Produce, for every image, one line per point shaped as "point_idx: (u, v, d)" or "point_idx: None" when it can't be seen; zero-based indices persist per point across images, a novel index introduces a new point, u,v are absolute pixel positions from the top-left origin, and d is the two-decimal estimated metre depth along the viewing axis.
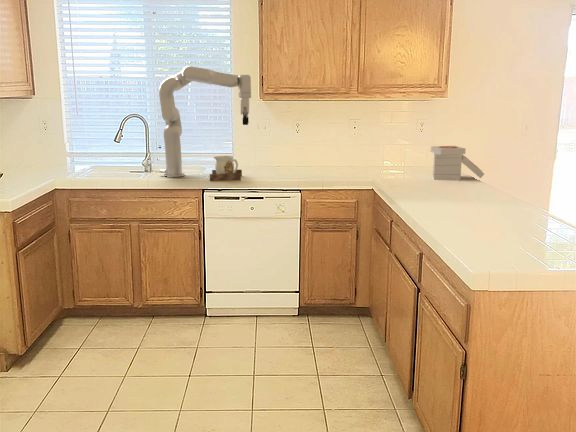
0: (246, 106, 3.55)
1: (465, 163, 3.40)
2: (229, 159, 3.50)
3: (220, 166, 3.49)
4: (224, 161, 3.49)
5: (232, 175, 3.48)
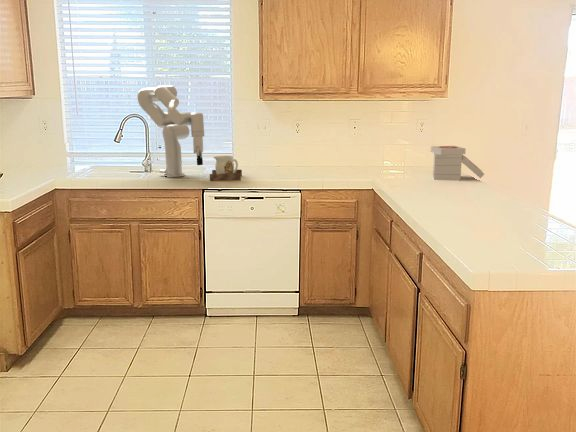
0: (199, 145, 3.47)
1: (465, 163, 3.40)
2: (229, 159, 3.50)
3: (220, 166, 3.49)
4: (224, 161, 3.49)
5: (232, 175, 3.48)
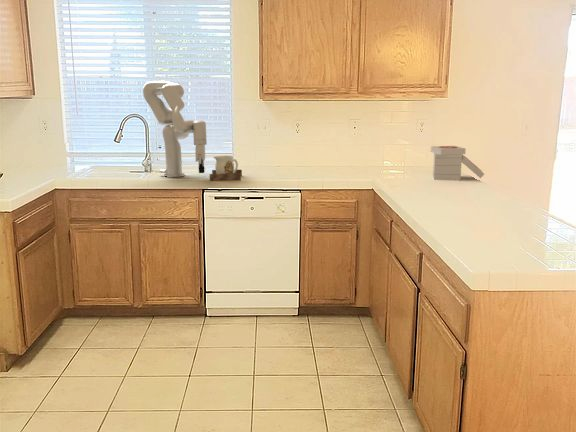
0: (201, 153, 3.48)
1: (465, 163, 3.40)
2: (229, 159, 3.50)
3: (220, 166, 3.49)
4: (224, 161, 3.49)
5: (232, 175, 3.48)
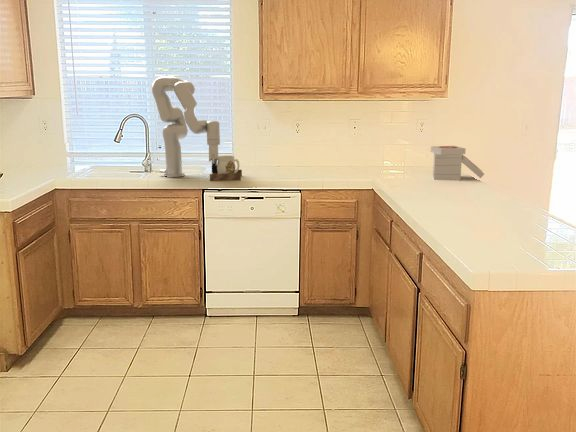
0: (214, 153, 3.48)
1: (465, 163, 3.40)
2: (231, 159, 3.50)
3: (222, 166, 3.49)
4: (226, 161, 3.49)
5: (232, 175, 3.48)
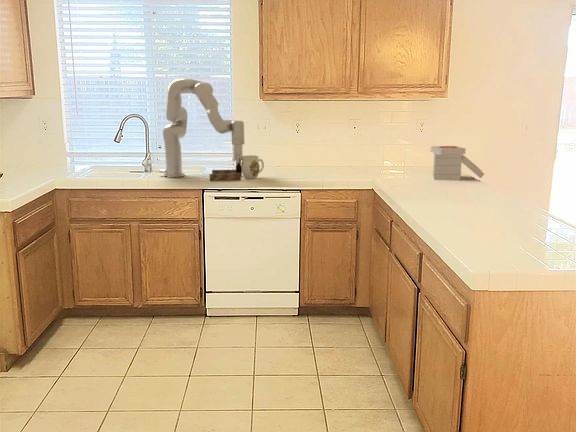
0: (239, 153, 3.49)
1: (465, 163, 3.40)
2: (255, 159, 3.50)
3: (246, 166, 3.50)
4: (250, 161, 3.49)
5: (232, 175, 3.48)
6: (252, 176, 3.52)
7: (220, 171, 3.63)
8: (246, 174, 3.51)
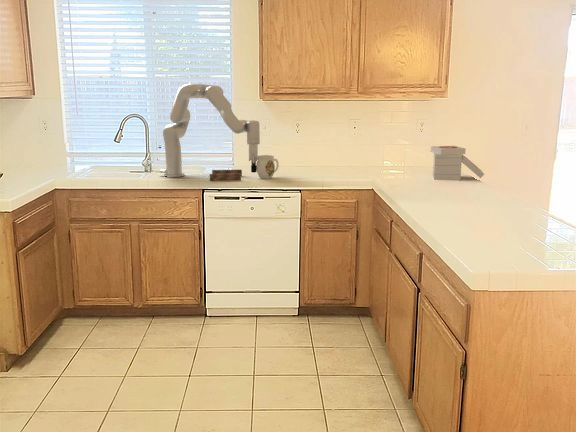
0: (254, 153, 3.49)
1: (465, 163, 3.40)
2: (270, 158, 3.50)
3: (261, 166, 3.50)
4: (265, 160, 3.49)
5: (232, 175, 3.48)
6: (267, 176, 3.52)
7: (220, 171, 3.63)
8: (261, 174, 3.52)
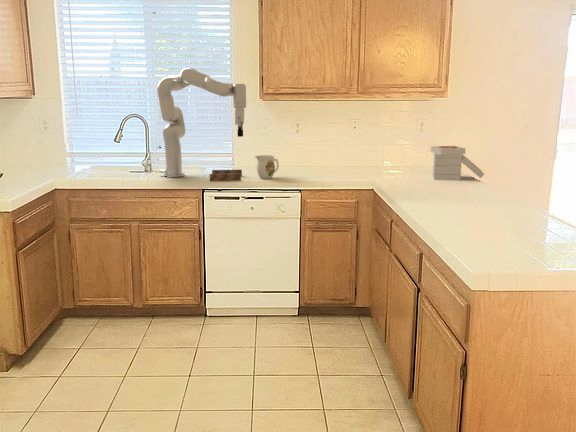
0: (241, 116, 3.46)
1: (465, 163, 3.40)
2: (270, 158, 3.50)
3: (262, 166, 3.50)
4: (265, 160, 3.49)
5: (232, 175, 3.48)
6: (268, 176, 3.52)
7: (220, 171, 3.63)
8: (262, 174, 3.52)
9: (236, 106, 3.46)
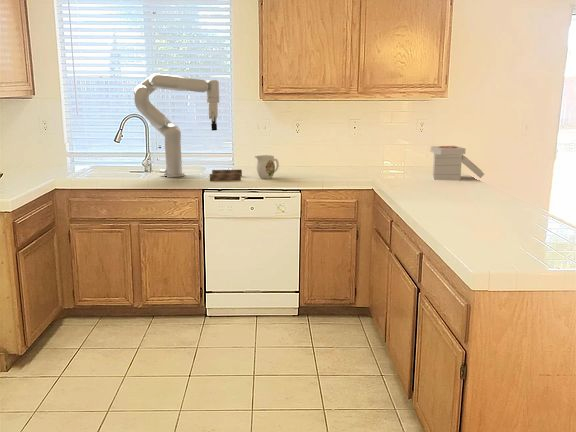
0: (214, 111, 3.63)
1: (465, 163, 3.40)
2: (270, 158, 3.50)
3: (262, 166, 3.50)
4: (265, 160, 3.49)
5: (232, 175, 3.48)
6: (268, 176, 3.52)
7: (220, 171, 3.63)
8: (262, 174, 3.52)
9: (209, 101, 3.64)
